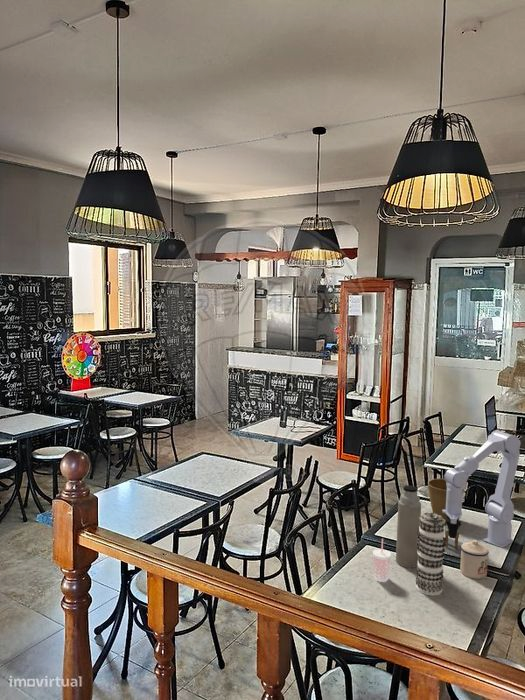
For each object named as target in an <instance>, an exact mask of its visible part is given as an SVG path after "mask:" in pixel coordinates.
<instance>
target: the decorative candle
mask: <svg viewBox="0 0 525 700" xmlns="http://www.w3.org/2000/svg"><path fill="white" fill-rule="evenodd" d="M419 518H420V526H419V528H418V529H417V531H418V532H417V538H418V539H417V548H418V550H417V553H418V555H419V556H418V565H417V566H416V567H415V569H416V570H415V571H416V575H415V589H416V590H417V591H418V592H419V593H422V594H424V595H426V596H439V595H441V594H442V593H443V584H444V579H443V578H444V569H443V567H444V566H443V559H444V558H445V556H446V555H445V549H444V548H443V547H444V546H446V544H445V541H446V539H445V524H446V523H445V520H444V519H443V518H442V516H441V515H439V514H437V513H433V511H432V512H430V511H429V512H425V513H423V514H422V515H421V517H419ZM419 536H420V537H419Z"/></svg>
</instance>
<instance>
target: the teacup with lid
mask: <svg viewBox="0 0 525 700" xmlns="http://www.w3.org/2000/svg"><path fill="white" fill-rule="evenodd" d="M462 543H463V544H462V545H461V556H460V566H459V567H460V569H459V571H460V572H461V574H462V575H464V576H466V577H468V578H471V579H480V580H481V579H484V578H486V577H487V573H488V559H489V558H488V557H489V554H490V551H489V549H488V547H487V546H485V545H484V544H481V543H479V541H478V540H476V539H473V540H471V541H469V542H468V541H467V542H462Z"/></svg>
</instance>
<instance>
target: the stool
mask: <svg viewBox="0 0 525 700" xmlns="http://www.w3.org/2000/svg"><path fill="white" fill-rule="evenodd" d="M444 537H445V539H446V541H445V544H446V546H445V547H448V538H449V531H448V526H447V525H444ZM459 538H460V527H459V528H458V531H457V535H456V538H454V540H455V548H457V549H458V542H459Z"/></svg>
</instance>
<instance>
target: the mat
mask: <svg viewBox="0 0 525 700" xmlns="http://www.w3.org/2000/svg"><path fill="white" fill-rule="evenodd" d="M463 543H464V542H460V541H458V549H457V548H455V539H454V538H450V537H448V547H445V546H444V547H443V548H444V549H445V552H447V553H446V554H448V553H449V554H448V555H450V554H452V555H451V556H453V555H454V557H455V556H456V558H461V545H462V544H463ZM445 552H444V553H445Z"/></svg>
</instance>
